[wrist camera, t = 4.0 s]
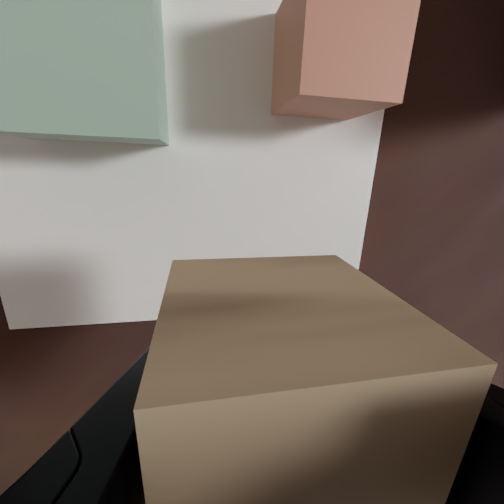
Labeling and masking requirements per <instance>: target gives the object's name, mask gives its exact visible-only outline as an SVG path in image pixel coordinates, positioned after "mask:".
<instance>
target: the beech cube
mask: <svg viewBox="0 0 504 504" xmlns="http://www.w3.org/2000/svg"><path fill="white" fill-rule="evenodd" d="M497 365H498V363H496V362H495V361H493V360H492V359H490V358H489V357H487V356H486V355H484V354H483V353H481V352H480V351H478V350H477V349H475V348H474V347H472V346H471V345H469V344H468V343H466V342H465V341H463V340H462V339H460V338H459V337H457V336H456V335H454V334H453V333H451V332H450V331H448V330H447V329H445V328H444V327H442V326H441V325H439V324H438V323H436V322H435V321H433V320H432V319H430V318H429V317H427V316H426V315H424V314H423V313H421V312H420V311H418V310H417V309H415V308H414V307H412V306H411V305H409V304H408V303H406V302H405V301H403V300H402V299H401V298H399V297H398V296H396V295H395V294H393V293H392V292H390V291H389V290H387V289H386V288H384V287H383V286H381V285H380V284H378V283H377V282H375V281H374V280H372V279H371V278H369V277H368V276H366V275H365V274H363V273H362V272H360V271H359V270H357V269H356V268H354V267H353V266H351V265H350V264H348V263H347V262H345V261H344V260H342V259H341V258H339V257H338V256H336V255H320V256H287V257H255V258H223V259H190V260H173V261H172V265H171V268H170V272H169V276H168V280H167V284H166V288H165V291H164V295H163V299H162V303H161V307H160V310H159V314H158V318H157V322H156V326H155V330H154V333H153V337H152V341H151V345H150V349H149V352H148V356H147V360H146V364H145V368H144V371H143V375H142V379H141V383H140V387H139V391H138V394H137V398H136V402H135V406H134V410H133V412H134V419H135V427H136V434H137V442H138V450H139V457H140V465H141V472H142V480H143V487H144V495H145V503H146V504H445V503H446V500H447V498H448V495H449V492H450V490H451V487H452V484H453V482H454V479H455V476H456V474H457V471H458V468H459V466H460V463H461V461H462V458H463V455H464V453H465V450H466V447H467V445H468V442H469V439H470V437H471V434H472V431H473V429H474V426H475V423H476V421H477V418H478V415H479V413H480V410H481V407H482V405H483V402H484V400H485V397H486V394H487V392H488V389H489V386H490V384H491V381H492V378H493V376H494V373H495V370H496V368H497Z"/></svg>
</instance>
